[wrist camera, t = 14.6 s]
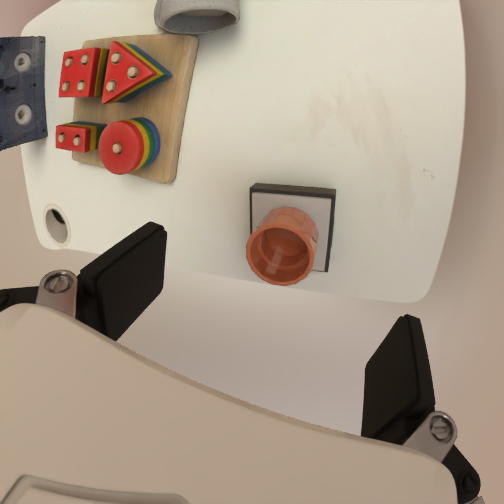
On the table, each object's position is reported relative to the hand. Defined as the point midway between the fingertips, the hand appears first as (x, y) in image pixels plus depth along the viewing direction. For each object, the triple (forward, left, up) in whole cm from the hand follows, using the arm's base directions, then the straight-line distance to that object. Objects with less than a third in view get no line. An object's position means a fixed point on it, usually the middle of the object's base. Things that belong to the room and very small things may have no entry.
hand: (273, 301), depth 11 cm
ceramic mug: (+23, -5, -22) cm, 32 cm away
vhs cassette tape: (+42, +19, -22) cm, 51 cm away
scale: (-2, +6, -22) cm, 23 cm away
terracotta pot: (-2, +6, -19) cm, 20 cm away
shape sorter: (+23, +10, -22) cm, 33 cm away
